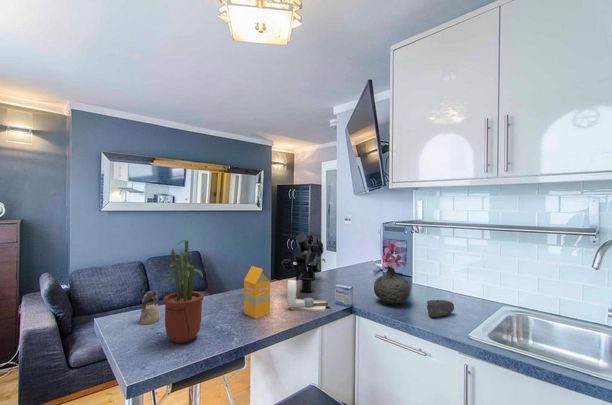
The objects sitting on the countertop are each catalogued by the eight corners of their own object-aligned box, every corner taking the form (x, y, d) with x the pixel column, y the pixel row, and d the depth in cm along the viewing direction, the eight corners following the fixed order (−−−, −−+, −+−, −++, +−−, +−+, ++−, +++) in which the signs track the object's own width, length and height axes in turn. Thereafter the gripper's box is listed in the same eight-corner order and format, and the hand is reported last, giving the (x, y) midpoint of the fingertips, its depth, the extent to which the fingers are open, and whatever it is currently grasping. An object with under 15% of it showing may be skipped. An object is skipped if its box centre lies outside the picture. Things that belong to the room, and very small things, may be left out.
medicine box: (334, 304, 140) (334, 286, 140) (337, 301, 144) (338, 283, 144) (349, 307, 136) (350, 288, 136) (353, 304, 140) (353, 286, 140)
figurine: (146, 317, 120) (146, 288, 121) (163, 317, 120) (163, 288, 120) (135, 324, 113) (136, 293, 113) (153, 324, 113) (154, 294, 113)
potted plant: (207, 341, 100) (209, 240, 100) (157, 354, 91) (159, 243, 91) (194, 324, 114) (196, 235, 115) (150, 333, 105) (151, 237, 106)
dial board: (294, 301, 143) (294, 298, 143) (332, 303, 141) (332, 300, 141) (290, 309, 131) (290, 307, 131) (332, 312, 129) (332, 309, 129)
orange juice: (258, 308, 132) (258, 264, 132) (269, 314, 126) (270, 268, 126) (243, 313, 127) (243, 267, 127) (254, 319, 120) (255, 270, 121)
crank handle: (326, 302, 137) (327, 278, 137) (329, 306, 133) (329, 280, 133) (286, 304, 134) (287, 279, 134) (287, 308, 130) (288, 282, 130)
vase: (416, 304, 142) (417, 242, 142) (395, 312, 131) (396, 245, 131) (387, 295, 155) (387, 238, 155) (365, 301, 144) (366, 241, 144)
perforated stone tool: (449, 311, 133) (449, 296, 133) (458, 316, 128) (458, 300, 128) (422, 315, 128) (422, 299, 128) (431, 319, 123) (431, 303, 123)
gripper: (283, 243, 150) (275, 269, 140) (318, 245, 145) (312, 272, 135) (288, 256, 158) (280, 281, 147) (321, 258, 153) (316, 285, 142)
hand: (297, 280), depth 143 cm, fingers closed
